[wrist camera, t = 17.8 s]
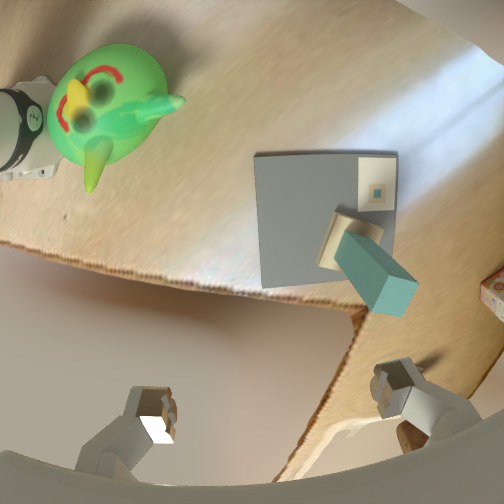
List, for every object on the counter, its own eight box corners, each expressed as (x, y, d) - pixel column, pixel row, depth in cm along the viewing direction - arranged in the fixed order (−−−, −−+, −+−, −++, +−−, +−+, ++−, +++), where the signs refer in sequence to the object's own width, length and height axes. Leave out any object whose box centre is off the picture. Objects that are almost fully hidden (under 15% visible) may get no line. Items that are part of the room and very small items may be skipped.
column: (333, 258, 49) (371, 311, 34) (344, 230, 47) (389, 275, 33) (358, 264, 50) (401, 317, 35) (370, 238, 48) (419, 283, 33)
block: (392, 433, 79) (412, 480, 60) (396, 421, 76) (418, 471, 57) (421, 422, 78) (443, 466, 60) (425, 410, 75) (450, 456, 57)
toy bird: (133, 37, 36) (97, 7, 23) (201, 104, 42) (189, 93, 28) (59, 119, 40) (6, 121, 26) (120, 185, 45) (81, 209, 32)
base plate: (261, 285, 54) (263, 294, 51) (253, 156, 45) (254, 158, 42) (387, 272, 54) (394, 279, 52) (395, 154, 46) (404, 156, 43)
